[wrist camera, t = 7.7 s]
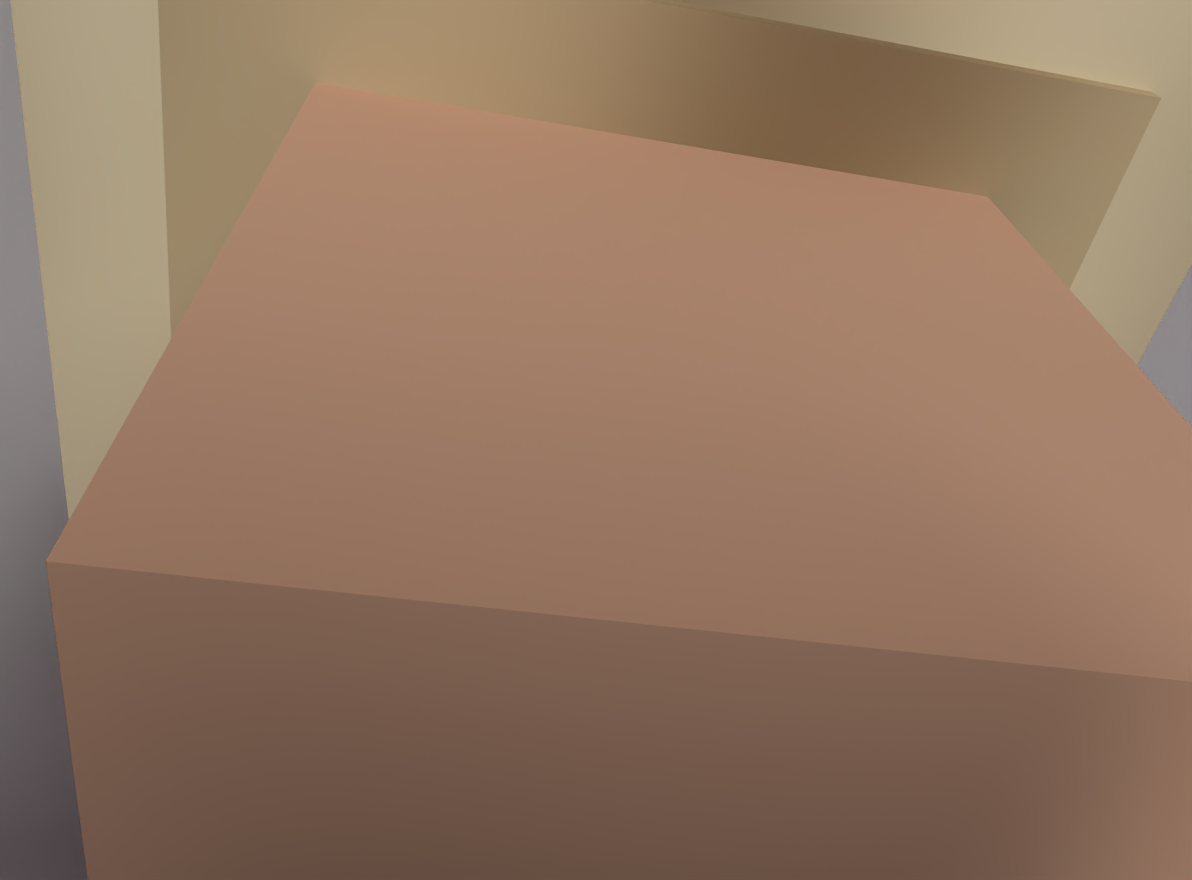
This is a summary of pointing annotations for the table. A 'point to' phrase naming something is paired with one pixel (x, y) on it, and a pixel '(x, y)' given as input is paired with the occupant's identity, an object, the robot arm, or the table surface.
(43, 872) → the table surface
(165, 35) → the plinth
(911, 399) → the cube
